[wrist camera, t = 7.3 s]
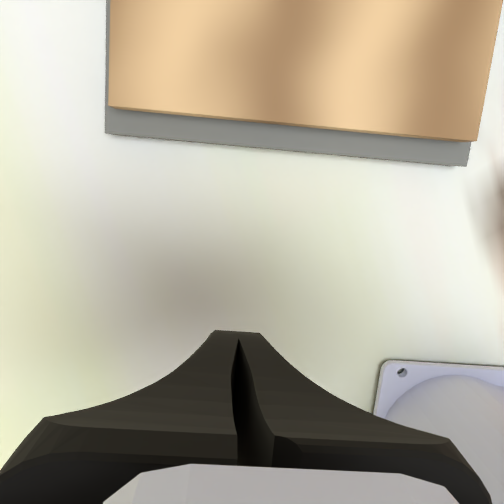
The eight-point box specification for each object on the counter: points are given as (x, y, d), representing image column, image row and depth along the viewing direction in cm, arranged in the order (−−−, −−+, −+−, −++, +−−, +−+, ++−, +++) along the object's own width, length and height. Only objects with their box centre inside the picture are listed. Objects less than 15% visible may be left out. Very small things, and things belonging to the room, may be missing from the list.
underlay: (511, -132, 17) (528, -149, 16) (454, 165, 20) (466, 166, 19) (116, -186, 16) (108, -208, 15) (111, 134, 19) (104, 133, 18)
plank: (500, -63, 17) (517, -78, 16) (463, 142, 18) (477, 140, 17) (120, -112, 16) (112, -131, 15) (115, 108, 17) (107, 105, 16)
